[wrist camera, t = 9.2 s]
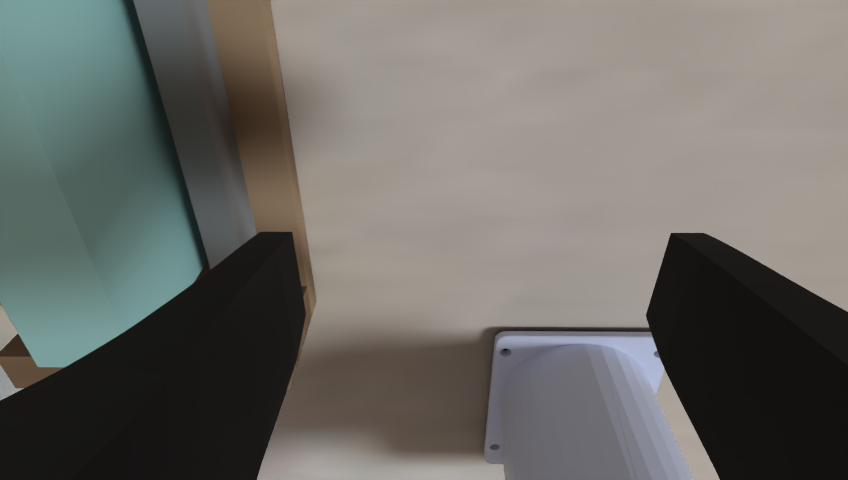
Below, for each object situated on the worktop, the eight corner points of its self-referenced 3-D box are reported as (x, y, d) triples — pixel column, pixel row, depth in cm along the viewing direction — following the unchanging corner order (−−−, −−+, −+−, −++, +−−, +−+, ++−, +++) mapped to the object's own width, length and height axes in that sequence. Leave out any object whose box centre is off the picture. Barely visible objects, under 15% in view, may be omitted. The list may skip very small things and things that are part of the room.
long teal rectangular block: (212, 252, 20) (139, 368, 15) (136, 252, 20) (38, 367, 15) (109, -121, 14) (-83, -140, 8) (-3, -121, 14) (-260, -139, 9)
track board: (316, 300, 23) (289, 390, 18) (92, 299, 23) (15, 388, 19) (221, -312, 12) (112, -426, 8) (-187, -307, 12) (-503, -416, 8)
